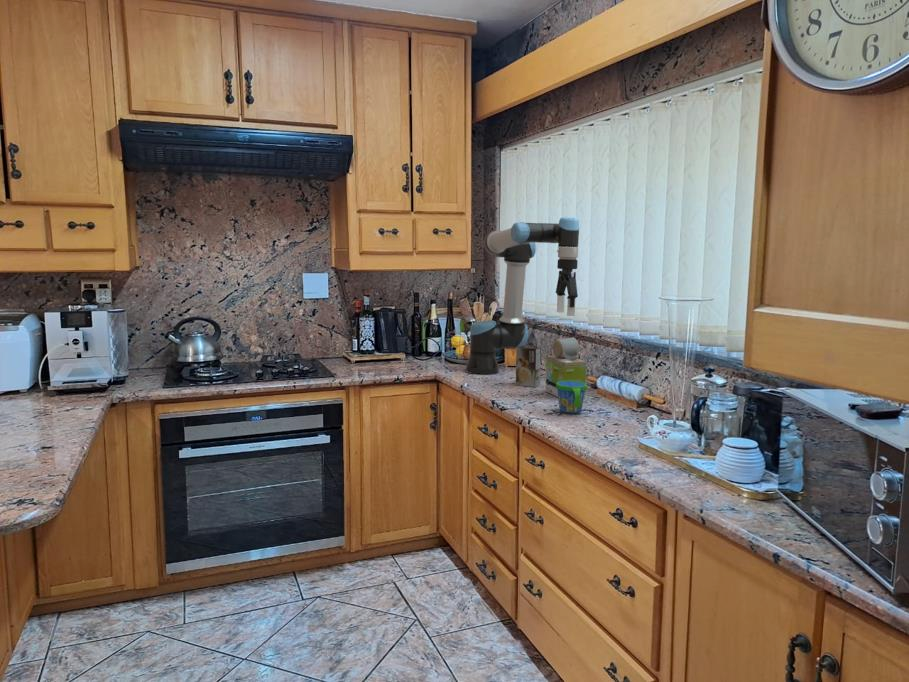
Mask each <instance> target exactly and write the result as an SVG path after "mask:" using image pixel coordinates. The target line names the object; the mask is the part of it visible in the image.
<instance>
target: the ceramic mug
mask: <svg viewBox="0 0 909 682" xmlns="http://www.w3.org/2000/svg"><path fill="white" fill-rule="evenodd" d="M552 351H553V352H552V353H553V356H556V357H558V358H566V359H568V360H576V359H579V352H580V344H579V342H578V339H576V338H575V337H568V338H559V339H557V340H555V341H554V342H553V344H552Z"/></svg>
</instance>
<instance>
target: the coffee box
mask: <svg viewBox="0 0 909 682" xmlns="http://www.w3.org/2000/svg"><path fill="white" fill-rule="evenodd" d="M541 348H542V347H540V346H526V345H524V346H519V347H517V348H515V349H516V350H515V353H516V354H515V356H516V357H515V386H518V385H519V386H520V387H529V388H530V387H531V388H538V387H539V386H541V366H542V365H541V363H542V359H541V358H542V352H541V351H542V349H541Z"/></svg>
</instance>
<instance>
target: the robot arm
mask: <svg viewBox="0 0 909 682" xmlns="http://www.w3.org/2000/svg"><path fill="white" fill-rule="evenodd" d="M579 236H580V219H579V218H578V217H568V216H567V217H564V216H563V217H560V218H559V220H558V223H557V222H555V223H550V222H549V223H546V222H544V223H543V222H537V223H535V222H524V221H523V222H522V221H521V222H520V221H519V222H514V223H513V224H512V226H511V228H508V229H507V228H506V229H504V230H494V231H491V232H489V233H488V234H487V235H485V237H484V239H483V247H484V249H485V250H486V252H487V253H488V254H489V255H491V256H493V257H496V258H503V261H504V263H505V264H506V272H505V284H504V285H505V287H504V299H503V309H502V310H503V311H502V316H501V317H499V318H498V319H499V321H498V323H497V322H496V321H495V320H481V321H480V320H479V321H476V322H473V323H472V324H471V326H470V332H469V335H470V336H469V340H470V341H469V342H470V343H469V345H470V346H469V357H468V359H467V363H466V366H465V371H468V372H471V373H470V374H473V373H480V374H479V375H494V374H493V373H495V374H498V373H499V364H498V360H497V357H496V349H497V350H498V349H499V350H501V349H516V348H517V347H519V346H526V344H527V341H528V338H529V330H528V329H529V327H528V325H527V323H525V320H524V318H523V317H522V315H523V314H522V313H523V302H524V291H525V280H526V267H527V266H528V265H529V264H530V260H531V259H533V258H534V257H535V255H536V252H537V251H536V250H537V245H536V243H537V244H538V243H541V244H542V243H543V244H544V243H546V244H547V243H548V244H549V243H550V244H557V245H558V246H557V250H556V253H557V257H558V258H557V267H556V268H557V269H559V271H558V278H557V283H556V289H555V294H556V296H557V297H556V299H557V300H556V313H565V296H566V293H565V292H566V291H567V296H566V299H567V303H566V304H567V307H566V308H567V311H566V316H567V317H576V316H575V313H576V299H577V298H578V297H579V295H578V286H577V279H576V277H577V275H576V274H577V272H576V271H573V270H578V264H579V263H578V259H577V258H578V257H579V239H580V238H579ZM468 372H467V373H468Z"/></svg>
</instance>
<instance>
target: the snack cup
mask: <svg viewBox="0 0 909 682" xmlns="http://www.w3.org/2000/svg"><path fill="white" fill-rule="evenodd" d="M556 387H557V390H558V397H557V399H558V406H559V407H558V408H559V411H560V412H562V413H563V414H569V415H575V413H577V414H580V413H582V409H583V404H584V399H585V398H584V395H585V396H586V390H587V389H588V385H587V383H583V382H579V381H559V382H557V383H556Z"/></svg>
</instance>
